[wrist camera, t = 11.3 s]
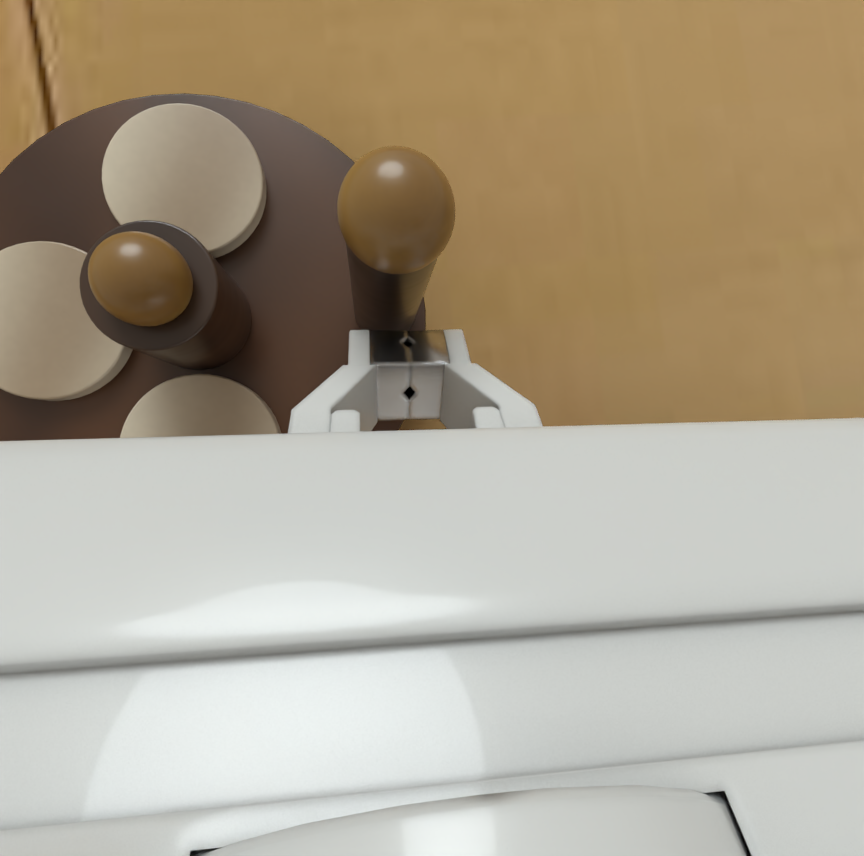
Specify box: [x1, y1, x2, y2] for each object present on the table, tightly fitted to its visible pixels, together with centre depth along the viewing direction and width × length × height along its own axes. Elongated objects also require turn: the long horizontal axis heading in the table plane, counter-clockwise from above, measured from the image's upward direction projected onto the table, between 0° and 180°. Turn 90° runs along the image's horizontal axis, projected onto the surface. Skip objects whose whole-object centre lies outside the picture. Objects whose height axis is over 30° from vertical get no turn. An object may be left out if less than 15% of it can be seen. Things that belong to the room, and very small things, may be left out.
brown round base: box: [0, 94, 455, 441], centre depth 14 cm, size 16×16×11 cm
